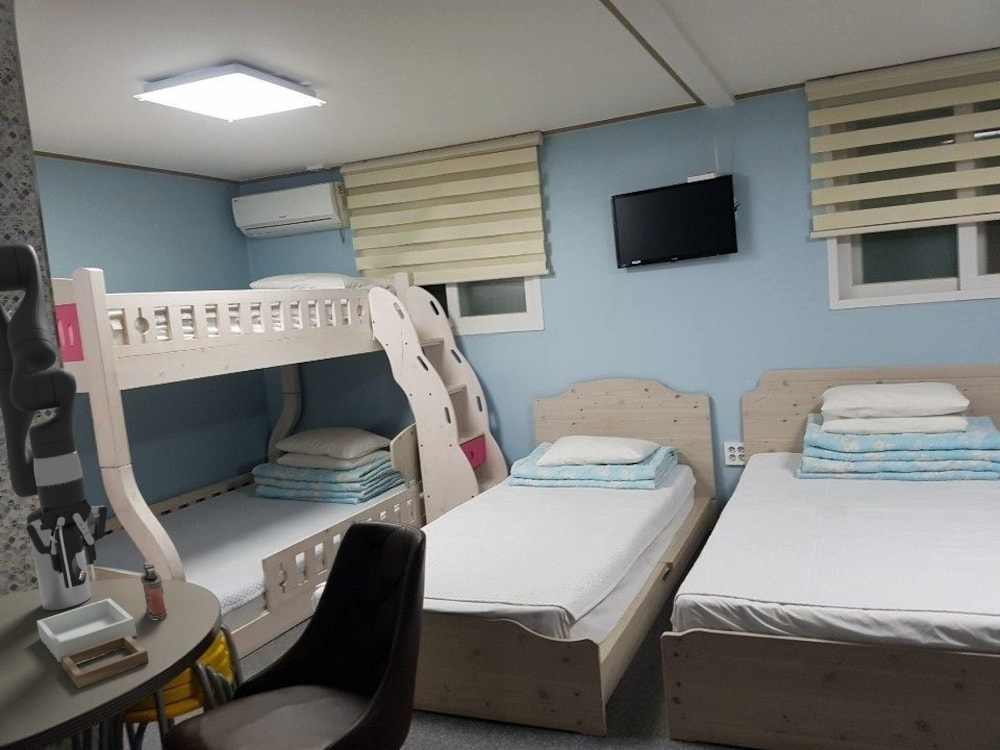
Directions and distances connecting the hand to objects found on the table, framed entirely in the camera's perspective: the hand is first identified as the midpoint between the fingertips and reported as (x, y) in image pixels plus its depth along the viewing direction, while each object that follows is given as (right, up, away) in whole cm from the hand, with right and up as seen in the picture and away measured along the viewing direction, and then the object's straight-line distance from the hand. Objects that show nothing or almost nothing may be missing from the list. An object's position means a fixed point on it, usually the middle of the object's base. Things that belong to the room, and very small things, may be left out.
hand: (75, 567), depth 149 cm
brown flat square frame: (+11, -14, -11) cm, 21 cm away
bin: (+1, -13, +2) cm, 14 cm away
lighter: (+11, -12, +10) cm, 19 cm away
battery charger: (+1, -3, 0) cm, 3 cm away
